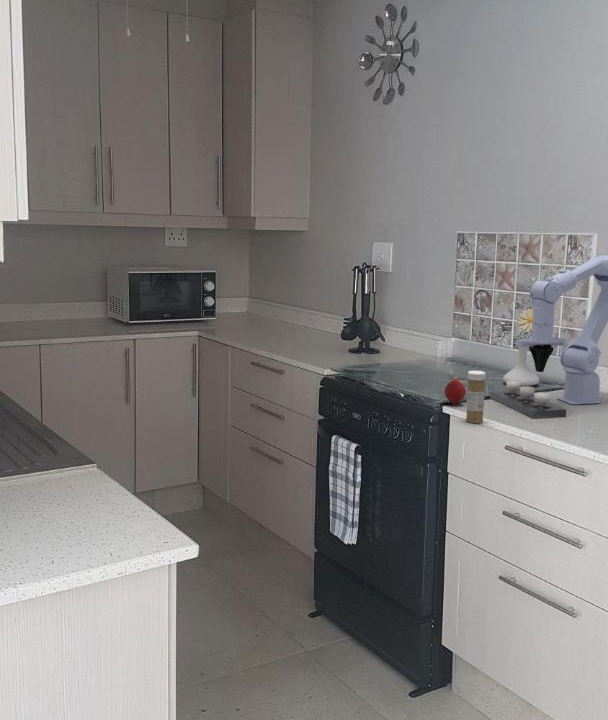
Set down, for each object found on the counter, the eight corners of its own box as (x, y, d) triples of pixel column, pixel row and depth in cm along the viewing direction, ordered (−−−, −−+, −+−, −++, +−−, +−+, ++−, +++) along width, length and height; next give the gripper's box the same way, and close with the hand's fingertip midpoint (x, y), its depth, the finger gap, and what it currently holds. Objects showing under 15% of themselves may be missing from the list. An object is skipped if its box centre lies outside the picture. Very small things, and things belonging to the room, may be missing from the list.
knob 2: (544, 403, 232) (544, 391, 231) (551, 407, 228) (552, 395, 227) (531, 404, 231) (531, 392, 230) (538, 407, 227) (539, 395, 226)
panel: (520, 396, 251) (520, 389, 250) (565, 416, 227) (566, 409, 226) (489, 397, 248) (490, 391, 248) (532, 418, 224) (533, 411, 224)
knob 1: (515, 391, 247) (516, 380, 246) (522, 394, 243) (523, 383, 243) (503, 392, 246) (504, 380, 245) (510, 395, 242) (510, 383, 242)
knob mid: (529, 397, 239) (530, 385, 239) (536, 400, 236) (537, 388, 235) (516, 398, 238) (517, 386, 238) (523, 401, 235) (524, 389, 234)
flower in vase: (495, 383, 269) (499, 306, 264) (519, 379, 275) (523, 304, 271) (526, 391, 258) (531, 310, 254) (551, 386, 264) (556, 308, 260)
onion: (458, 407, 235) (460, 380, 234) (440, 404, 239) (441, 377, 237) (468, 404, 240) (469, 376, 238) (450, 401, 243) (451, 374, 242)
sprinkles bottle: (477, 418, 223) (479, 369, 221) (486, 423, 219) (489, 372, 217) (462, 420, 222) (464, 370, 219) (471, 424, 218) (473, 373, 215)
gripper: (557, 321, 239) (554, 367, 242) (512, 322, 236) (509, 369, 238) (571, 324, 233) (568, 372, 235) (525, 325, 229) (522, 374, 231)
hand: (539, 371), depth 236 cm, fingers closed
